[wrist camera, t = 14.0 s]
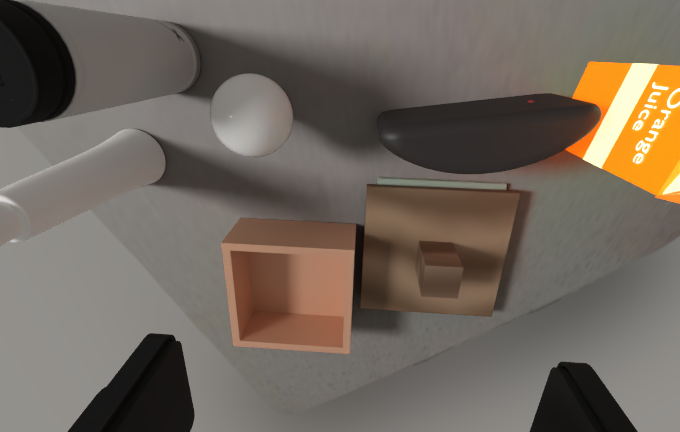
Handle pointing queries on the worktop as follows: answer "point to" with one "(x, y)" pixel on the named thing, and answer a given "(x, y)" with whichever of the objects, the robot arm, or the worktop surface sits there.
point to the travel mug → (86, 61)
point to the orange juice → (634, 124)
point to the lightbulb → (251, 115)
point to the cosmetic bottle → (79, 184)
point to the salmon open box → (290, 284)
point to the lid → (435, 248)
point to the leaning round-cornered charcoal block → (487, 132)
